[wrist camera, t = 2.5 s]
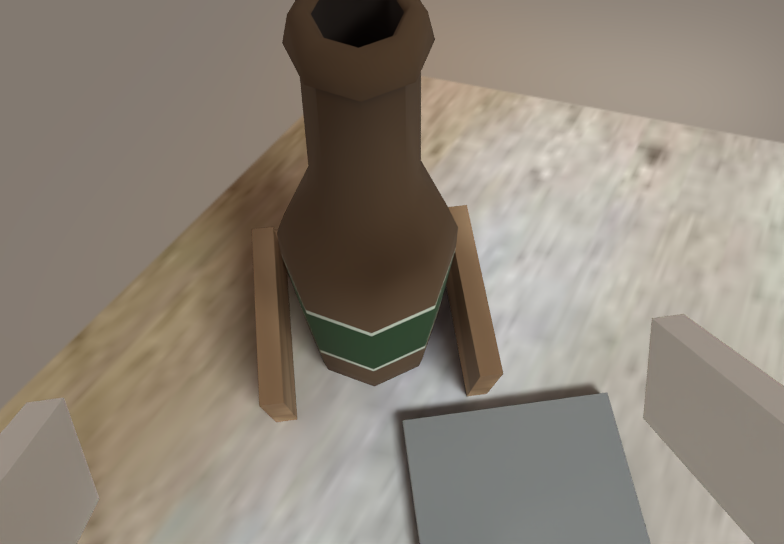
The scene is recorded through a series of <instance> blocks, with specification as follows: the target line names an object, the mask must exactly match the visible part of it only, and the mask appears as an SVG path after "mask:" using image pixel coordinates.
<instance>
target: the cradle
mask: <svg viewBox="0 0 784 544" xmlns="http://www.w3.org/2000/svg"><path fill="white" fill-rule="evenodd" d="M448 208H449V210H450V212H451V214H452V216H453V218H454V220H455V222H456V224H457V226H458V233H457V243H456V249H455V253H454V256H453V260H452V264H451V267H450V271H449V275H448V278H447V282H446V288H447V293H448V299H449V304H450V309H451V315H452V320H453V325H454V331H455V336H456V341H457V347H458V352H459V357H460V362H461V368H462V373H463V378H464V384H465V389H466V394H467V396H473V395H481V394H487V393H488V392H489V390H490V389H491V388H492V387H493V386H494V384H495V383H496V382H497V381H498V379H499V378H500V377H501V376H502V375H503V370H502V365H501V361H500V356H499V352H498V347H497V342H496V338H495V333H494V329H493V324H492V319H491V315H490V310H489V306H488V301H487V296H486V292H485V287H484V283H483V278H482V273H481V269H480V264H479V259H478V255H477V250H476V246H475V241H474V236H473V232H472V227H471V223H470V218H469V213H468V209H467V205H464V206H455V207H448ZM277 231H278V230H274V228H273V227H266V228H257V229H252V248H253V271H254V294H255V317H256V339H257V362H258V385H259V406H260V407H261V408H262V409H263V410H264V411H265V412H266V413H267V414H268V415H269V416H270V417H272V418H273V419H274V420H275V421H276V422H281V421H288V420H296V419H297V409H296V394H295V380H294V366H293V351H292V337H291V322H290V308H289V293H288V279H287V268H286V265H285V263H284V260H283V257H282V255H281V252H280V247H279V242H278V236H277Z"/></svg>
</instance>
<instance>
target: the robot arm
mask: <svg viewBox="0 0 784 544" xmlns="http://www.w3.org/2000/svg"><path fill="white" fill-rule="evenodd" d="M643 418H644V420H645V421H646V422H647V423H648V424H649V425H650V426H651V427H652V429H653V430H654V431H655V432H656V433H657V434H658V435H659V437H660V438H661V439H662V440H663V441H664V442H665V443H666V444H667V446H668V447H669V448H670V449H671V450H672V451H673V452H674V454H675V455H676V456H677V457H678V458H679V459H680V460H681V461H682V463H683V464H684V465H685V466H686V467H687V468H688V469H689V470H690V472H691V473H692V474H693V475H694V476H695V477H696V478H697V480H698V481H699V482H700V483H701V484H702V485H703V486H704V487H705V489H706V490H707V491H708V492H709V493H710V494H711V495H712V497H713V498H714V499H715V500H716V501H717V502H718V503H719V504H720V506H721V507H722V508H723V509H724V510H725V511H726V512H727V514H728V515H729V516H730V517H731V518H732V519H733V520H734V521H735V523H736V524H737V525H738V526H739V527H740V528H741V529H742V531H743V532H744V533H745V534H746V535H747V536H748V537H749V538H750V540H751V541H752V542H753V543H754V544H784V386H783V385H782V384H780V383H779V382H777V381H776V380H775V379H773V378H772V377H770V376H769V375H768V374H766V373H765V372H763V371H762V370H761V369H759V368H758V367H757V366H755V365H754V364H752V363H751V362H750V361H748V360H747V359H745V358H744V357H743V356H741V355H740V354H738V353H737V352H736V351H734V350H733V349H731V348H730V347H729V346H727V345H726V344H725V343H723V342H722V341H720V340H719V339H718V338H716V337H715V336H713V335H712V334H711V333H709V332H708V331H706V330H705V329H704V328H702V327H701V326H699V325H698V324H697V323H695V322H694V321H693V320H691V319H690V318H688V317H687V316H686V315H684V314H680V315H673V316H665V317H658V318H652V323H651V335H650V346H649V358H648V369H647V381H646V392H645V404H644V415H643ZM98 500H99V497H98V494H97V491H96V488H95V485H94V482H93V479H92V477H91V474H90V471H89V468H88V465H87V462H86V459H85V457H84V454H83V451H82V448H81V445H80V442H79V439H78V437H77V434H76V431H75V428H74V425H73V422H72V420H71V417H70V414H69V411H68V408H67V405H66V402H65V400H64V398H57V399H50V400H43V401H35V402H28V403H26V404H25V405H24V406H23V407H22V409H21V410H20V411H19V412H18V413H17V415H16V416H15V417H14V418H13V419H12V420H11V422H10V423H9V424H8V425H7V426H6V428H5V429H4V430H3V431H2V432H1V433H0V544H77V542H78V540H79V538H80V536H81V534H82V532H83V530H84V528H85V526H86V524H87V522H88V520H89V518H90V516H91V514H92V512H93V510H94V508H95V506H96V504H97V502H98Z"/></svg>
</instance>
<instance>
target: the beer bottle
mask: <svg viewBox="0 0 784 544" xmlns="http://www.w3.org/2000/svg"><path fill="white" fill-rule="evenodd" d="M434 40H435V38H434V35H433V30H432V26H431V22H430V19H429V15H428V11H427V10H426V9H425V7H424V5H423V4H422V3H421V1H420V0H295V2H294V4H293V6H292V7H291V9H290V10H289V12H288V14H287V18H286V24H285V30H284V36H283V42H282V43H283V45H284V47H285V49H286V51H287V53H288V55H289V57H290V59H291V61H292V62H293V64H294V66H295V68H296V70H297V72H298V74H299V76H300V82H301V93H302V103H303V113H304V124H305V134H306V144H307V155H308V165H309V166H308V168H307V170H306V172H305V174H304V176H303V178H302V180H301V182H300V184H299V186H298V188H297V190H296V192H295V194H294V196H293V198H292V200H291V202H290V204H289V206H288V208H287V210H286V212H285V214H284V216H283V219H282V221H281V224H280V226H279V229H278V231H277V236H278V242H279V247H280V252H281V255H282V257H283V260H284V263H285V265H286V268H287V271H288V273H289V276H290V279H291V281H292V284H293V287H294V289H295V292H296V295H297V297H298V300H299V303H300V305H301V308H302V311H303V313H304V316H305V319H306V321H307V323H308V326H309V328H310V330H311V333H312V335H313V337H314V339H315V342H316V344H317V346H318V349H319V351H320V353H321V356H322V358H323V360H324V363H325V364H326V366H327V368H328V369H329V370H331V371H334V372H337V373H339V374H342V375H345V376H348V377H350V378H353V379H356V380H359V381H361V382H364V383H367V384H370V385H372V386H376V385H378V384H381V383H383V382H385V381H387V380H389V379H391V378H394V377H396V376H398V375H400V374H402V373H404V372H407V371H409V370H411V369H413V368H415V367H417V366H419V364H420V362H421V360H422V358H423V355H424V352H425V349H426V346H427V344H428V341H429V338H430V335H431V332H432V329H433V326H434V323H435V321H436V318H437V315H438V312H439V308H440V304H441V301H442V297H443V293H444V290H445V286H446V282H447V278H448V275H449V271H450V267H451V264H452V260H453V256H454V253H455V249H456V243H457V233H458V226H457V224H456V222H455V220H454V218H453V216H452V214H451V212H450V210H449V208H448V206H447V205H446V203H445V201H444V199H443V198H442V196H441V194H440V193H439V191H438V189H437V187H436V186H435V184H434V182H433V181H432V179H431V177H430V175H429V174H428V172H427V170H426V168H425V167H424V165H423V163H422V162H421V70H422V68H423V65H424V63H425V61H426V59H427V56H428V54H429V52H430V49H431V47H432V45H433V43H434Z"/></svg>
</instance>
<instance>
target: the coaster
mask: <svg viewBox="0 0 784 544" xmlns="http://www.w3.org/2000/svg"><path fill="white" fill-rule="evenodd" d="M402 424H403V431H404V438H405V445H406V453H407V460H408V467H409V474H410V481H411V488H412V495H413V502H414V509H415V516H416V524H417V531H418V538H419V544H650V540H649V537H648V533H647V530H646V526H645V523H644V519H643V516H642V512H641V509H640V505H639V502H638V498H637V495H636V491H635V488H634V484H633V481H632V477H631V474H630V470H629V467H628V463H627V460H626V456H625V453H624V449H623V446H622V442H621V439H620V435H619V432H618V428H617V425H616V421H615V418H614V414H613V411H612V407H611V404H610V400H609V397H608V393H600V394H592V395H585V396H578V397H570V398H563V399H556V400H548V401H541V402H534V403H527V404H519V405H512V406H505V407H497V408H490V409H483V410H476V411H468V412H461V413H454V414H446V415H439V416H432V417H424V418H417V419H410V420H403V422H402Z"/></svg>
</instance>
